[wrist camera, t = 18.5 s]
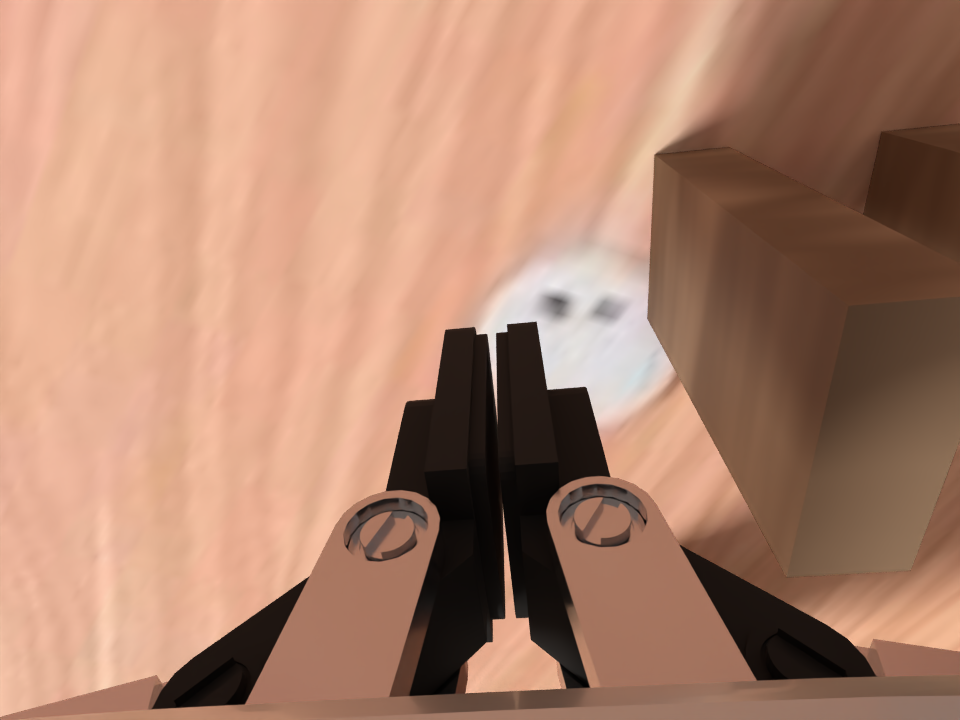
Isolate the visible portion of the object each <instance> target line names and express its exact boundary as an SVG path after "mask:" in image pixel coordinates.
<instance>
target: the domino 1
mask: <svg viewBox="0 0 960 720" xmlns="http://www.w3.org/2000/svg"><path fill="white" fill-rule="evenodd" d="M647 319H648V321H649V323H650V325H651V326H652V328H653V330H654V332H655V334H656V336H657V338H658V340H659V341H660V343H661V345H662V347H663V349H664V351H665V353H666V354H667V356H668V358H669V360H670V362H671V364H672V366H673V367H674V369H675V371H676V373H677V375H678V377H679V379H680V380H681V382H682V384H683V386H684V388H685V390H686V392H687V393H688V395H689V397H690V399H691V401H692V403H693V405H694V406H695V408H696V410H697V412H698V414H699V416H700V418H701V420H702V421H703V423H704V425H705V427H706V429H707V431H708V433H709V434H710V436H711V438H712V440H713V442H714V444H715V446H716V447H717V449H718V451H719V453H720V455H721V457H722V459H723V460H724V462H725V464H726V466H727V468H728V470H729V472H730V473H731V475H732V477H733V479H734V481H735V483H736V485H737V486H738V488H739V490H740V492H741V494H742V496H743V498H744V499H745V501H746V503H747V505H748V507H749V509H750V511H751V513H752V514H753V516H754V518H755V520H756V522H757V524H758V526H759V527H760V529H761V531H762V533H763V535H764V537H765V539H766V540H767V542H768V544H769V546H770V548H771V550H772V552H773V553H774V555H775V557H776V559H777V561H778V563H779V565H780V566H781V568H782V570H783V572H784V574H785V576H786V578H789V577H807V576H825V575H843V574H862V573H880V572H898V571H911V569H912V566H913V564H914V561H915V558H916V556H917V553H918V550H919V548H920V545H921V542H922V540H923V537H924V534H925V532H926V529H927V527H928V524H929V521H930V519H931V516H932V513H933V511H934V508H935V505H936V503H937V500H938V497H939V495H940V492H941V489H942V487H943V484H944V481H945V479H946V476H947V474H948V471H949V468H950V466H951V463H952V460H953V458H954V455H955V452H956V450H957V447H958V444H959V442H960V263H958V262H956V261H954V260H952V259H950V258H948V257H946V256H944V255H942V254H940V253H938V252H936V251H934V250H932V249H930V248H928V247H926V246H924V245H922V244H920V243H918V242H916V241H914V240H912V239H910V238H908V237H906V236H904V235H902V234H900V233H898V232H896V231H894V230H892V229H890V228H888V227H886V226H884V225H882V224H881V223H879V222H877V221H875V220H873V219H871V218H869V217H867V216H865V215H863V214H861V213H859V212H857V211H855V210H853V209H851V208H849V207H847V206H845V205H843V204H841V203H839V202H837V201H835V200H833V199H831V198H829V197H827V196H825V195H823V194H821V193H819V192H817V191H815V190H813V189H811V188H809V187H807V186H805V185H803V184H801V183H799V182H797V181H795V180H793V179H791V178H789V177H787V176H785V175H783V174H781V173H779V172H777V171H775V170H774V169H772V168H770V167H768V166H766V165H764V164H762V163H760V162H758V161H756V160H754V159H752V158H750V157H748V156H746V155H744V154H742V153H740V152H738V151H736V150H734V149H732V148H730V147H726V148H716V149H706V150H696V151H686V152H676V153H666V154H656V155H655V158H654V180H653V203H652V226H651V249H650V271H649V294H648V317H647Z"/></svg>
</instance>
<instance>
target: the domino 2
mask: <svg viewBox="0 0 960 720" xmlns="http://www.w3.org/2000/svg"><path fill="white" fill-rule="evenodd" d="M863 215H865V216H867V217H869V218H871V219H873V220H875V221H877V222H879V223H881V224H882V225H884V226H886V227H888V228H890V229H892V230H894V231H896V232H898V233H900V234H902V235H904V236H906V237H908V238H910V239H912V240H914V241H916V242H918V243H920V244H922V245H924V246H926V247H928V248H930V249H932V250H934V251H936V252H938V253H940V254H942V255H944V256H946V257H948V258H950V259H952V260H954V261H956V262H958V263H960V124H953V125H943V126H933V127H923V128H914V129H904V130H894V131H884V132H882V133H881V138H880V142H879V147H878V151H877V156H876V160H875V165H874V169H873V174H872V178H871V183H870V187H869V191H868V196H867V200H866V205H865V209H864V214H863Z"/></svg>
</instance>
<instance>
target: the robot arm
mask: <svg viewBox="0 0 960 720" xmlns="http://www.w3.org/2000/svg"><path fill="white" fill-rule="evenodd" d="M507 330H508V332H503V333H496V353H497V410H498V424H497V415H496V406H495V398H494V389H493V380H492V371H491V362H490V353H489V344H488V336H487V334H480V335H476V329H475V327H472V328H460V329H449V330H445V335H444V341H443V348H442V355H441V361H440V368H439V375H438V381H437V388H436V395H435V399H429V400H416V401H408V402H406V405H405V408H404V413H403V417H402V422H401V426H400V431H399V435H398V439H397V444H396V448H395V453H394V457H393V462H392V466H391V470H390V475H389V479H388V484H387V488H386V491H385V492H382V493H378V494H375V495H371V496H369V497H367V498H365V499H363V500H361V501H359V502H357V503H356V504H354V505H353V506H352V507H351V508H350V509H348V510H347V511H346V512H345V513H344V514H343V515H342V517H341V518H340V519H339V521H338V522H337V524H336V525H335V527H334V529H333V531H332V533H331V535H330V537H329V539H328V541H327V543H326V545H325V547H324V549H323V551H322V553H321V555H320V557H319V559H318V561H317V563H316V565H315V567H314V569H313V571H312V573H311V575H310V576H309V577H308V578H306V579H305V580H303V581H302V582H301V583H299V584H298V585H296V586H295V587H293V588H292V589H291V590H289V591H288V592H286V593H285V594H284V595H282V596H281V597H279V598H278V599H276V600H275V601H274V602H272V603H271V604H269V605H268V606H266V607H265V608H264V609H262V610H261V611H259V612H258V613H257V614H255V615H254V616H252V617H251V618H249V619H248V620H247V621H245V622H244V623H242V624H241V625H239V626H238V627H237V628H235V629H234V630H232V631H231V632H229V633H228V634H227V635H225V636H224V637H222V638H221V639H220V640H218V641H217V642H215V643H214V644H212V645H211V646H210V647H208V648H207V649H205V650H204V651H202V652H201V653H200V654H198V655H197V656H195V657H194V658H192V659H191V660H190V661H189V662H188V663H187V664H185V665H184V666H183V667H182V668H181V669H180V670H178V671H177V672H176V673H175V674H174V675H173V677H172V678H171V679H170V680H169V682H165V683H161V681H160V680H159V678H158V676H157V675H156V676H152V677H148V678H145V679H141V680H137V681H133V682H130V683H126V684H122V685H118V686H115V687H111V688H107V689H103V690H100V691H96V692H92V693H88V694H85V695H81V696H77V697H73V698H69V699H66V700H62V701H58V702H54V703H51V704H47V705H43V706H39V707H36V708H32V709H28V710H24V711H21V712H17V713H13V714H9V715H6V716H2V717H0V720H960V652H958V651H951V650H944V649H937V648H930V647H924V646H917V645H910V644H903V643H896V642H890V641H883V640H876V639H873V641H872V644H871V646H870V648H865V647H858V646H854V645H853V644H852V643H851V642H850V641H849V640H848V639H847V638H845V637H844V636H842V635H841V634H839V633H838V632H836V631H835V630H833V629H832V628H831V627H829V626H828V625H826V624H824V623H822V622H820V621H818V620H817V619H815V618H813V617H811V616H809V615H807V614H806V613H804V612H802V611H800V610H798V609H796V608H795V607H793V606H791V605H789V604H787V603H785V602H784V601H782V600H780V599H778V598H776V597H774V596H772V595H771V594H769V593H767V592H765V591H763V590H761V589H760V588H758V587H756V586H754V585H752V584H750V583H749V582H747V581H745V580H743V579H741V578H739V577H738V576H736V575H734V574H732V573H730V572H728V571H727V570H725V569H723V568H721V567H719V566H717V565H716V564H714V563H712V562H710V561H708V560H706V559H704V558H703V557H701V556H699V555H697V554H695V553H693V552H692V551H690V550H688V549H686V548H684V547H682V546H681V545H679V543H678V542H677V540H676V538H675V536H674V535H673V533H672V531H671V529H670V527H669V526H668V524H667V522H666V520H665V519H664V517H663V515H662V513H661V512H660V510H659V508H658V506H657V505H656V503H655V502H654V501H653V500H652V498H651V497H650V496H649V495H648V494H647V492H645V491H644V490H642V489H641V488H639V487H638V486H636V485H635V484H632V483H630V482H627V481H624V480H622V479H619V478H612V477H610V473H609V470H608V466H607V462H606V458H605V455H604V451H603V447H602V443H601V440H600V436H599V432H598V428H597V424H596V421H595V417H594V413H593V409H592V406H591V402H590V398H589V394H588V391H587V388H586V387H578V388H565V389H553V390H547V386H546V379H545V373H544V366H543V360H542V354H541V347H540V341H539V334H538V328H537V322H528V323H517V324H507ZM503 511H504V519H505V528H506V536H507V545H508V554H509V562H510V571H511V579H512V588H513V597H514V605H515V614H516V618H528V617H529V626H530V636H531V640H532V641H533V642H535V643H536V644H537V645H538V646H540V647H541V648H542V649H543V650H544V651H546V652H547V653H548V654H549V655H551V656H552V657H553V658H554V659H556V660H557V671H558V677H559V681H560V685H561V689H553V690H531V691H509V692H487V693H466V694H465V691H466V685H467V680H468V663H467V660H468V659H469V658H471V657H472V656H473V655H474V654H475V653H476V652H477V651H478V650H479V649H480V648H481V647H482V646H483V645H484V644H485V643H486V642H493V619H505V581H504V541H503Z"/></svg>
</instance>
